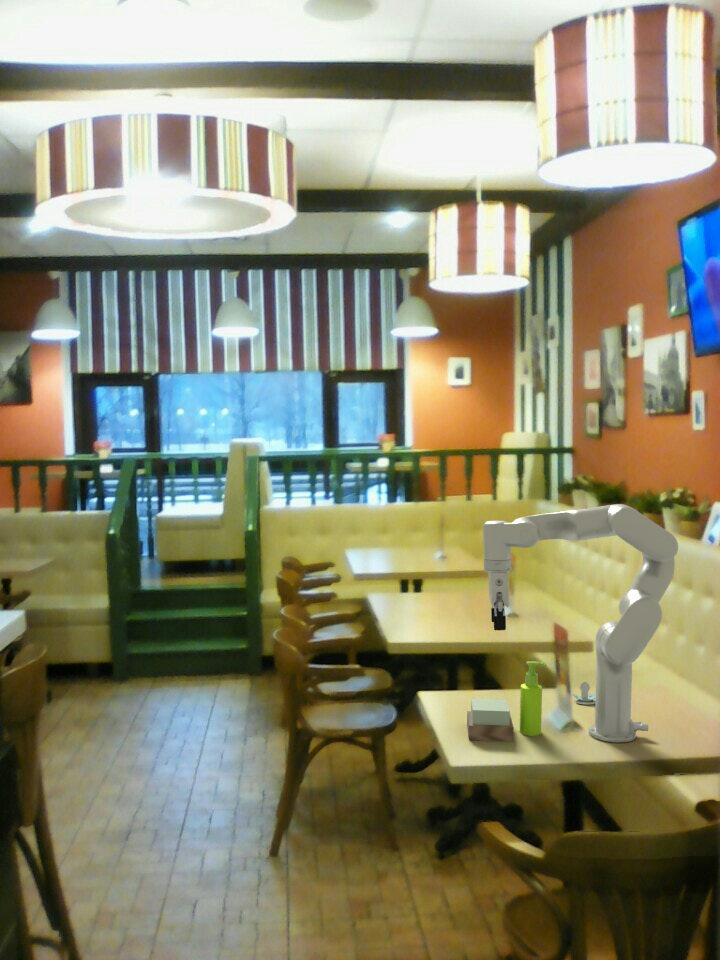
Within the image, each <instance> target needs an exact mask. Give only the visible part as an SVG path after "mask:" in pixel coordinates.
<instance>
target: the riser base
mask: <svg viewBox="0 0 720 960" xmlns="http://www.w3.org/2000/svg"><path fill="white" fill-rule="evenodd" d="M466 711H467V710H466ZM466 713H467V716H466V717H467V718H466V721H467V722H466V727H467V734H468V740H469V741H487V742H488V741H489V742H492V741H493V742H511V743H512V742H514V724H513V720H512V717H511V715H510V726H501V725H474V724H473V723H472V716H471V710H468V711H467V712H466Z"/></svg>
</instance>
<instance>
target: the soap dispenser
mask: <svg viewBox="0 0 720 960" xmlns="http://www.w3.org/2000/svg"><path fill="white" fill-rule="evenodd" d="M526 666H528V671H527V672H525V678H524V679H525V680H524V681H525V682H524V683H522V684H520V701H519V702H520V704H519V705H520V707H519V709H520V710H519V733H521V734H522V735H525V736H530V737H531V736H533V737H535V736H536V737H537V736H539V735H541V734H542V715H543V714H542V713H543V711H542V710H543V709H542V706H543V701H542V700H543V686H542V685H541V684H539V683H538V681H539V677H538V676H539V675H538V673H536V666H541V667H546V666H547V663H546V662H543V661H538V660H530V661H529V660H527V661H526Z"/></svg>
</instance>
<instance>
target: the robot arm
mask: <svg viewBox="0 0 720 960" xmlns="http://www.w3.org/2000/svg"><path fill="white" fill-rule="evenodd" d="M482 529H483V530H482V535H483V538H482V539H483V542H482V543H483V571H484V572H485V573H488V580H487V581H488V596H489V601H490V606H491V608H490V609H491V618H490V619H491V623H493V630H494V631H506V629H507V624H506V623H507V622H506V620H507V619H506V612H505V611H506V609H505V607H506V608H509V607H510V592H509V591H510V589H509V584H510V583H509V574H508V573H509V572H511V571H512V548H520V549H529V548H533V547H534V546H536V545H537V544H538V542H540V541H545V540H565V541H571V542H572V541H573V542H575V541H576V542H577V541H578V542H580V541H586V540H592V539H600V538H606V537H607V538H608V537H615V536H617V537H619V539H621V540H623V541H624V542H625V543H626V544H628V545H630V546H631V547H633V548H634V549H636V550H637V551H639V552H641V554H642V565H641V567H640V568H639V571H638V573H637V575H636V577H635V578H634V580H633V581H632V583H631V584H630V586H629V587H628V589H627V590H626V592H625V593H624V595H623V596H622V598H621V599H620V602H619V604H618V611H619V614H620V615H621V617H620V618H619V620H618V621H613V620H612V621H607V622H605V623H603V624H601V626H600V627H599V628H598V629H597V632H596V635H595V657H596V658H595V659H596V660H595V661H596V662H595V663H596V673H595V674H596V675H595V676H596V677H595V694H596V698H595V700H594V701H595V704H594V705H595V707H594V708H595V710H594V724H592V725H591V726H590V727H589V728H588V734H589V735H590V736H591V737H593V738H595V739H597V740H600V741H604V742H608V743H628V742H632V741H634V740H635V739H636V738H637V732H638V731H639V732H640V731H641V732H648V731H649V724H648V723H642V721H633V720H632V718H631V716H632V714H631V713H632V691H633V690H632V687H633V663H634V662H636V661H637V659H639V657H640V656H641V655H642V653H643V652H644V650H645V648H646V647H647V646H648V644H649V643H650V641H651V640H652V638H653V636H655V633H656V632H657V630H658V628H659V627H660V625H661V622H662V618H663V611H662V607H661V604H660V602H661V600H662V598H663V597H664V595H665V594H666V592H667V590H668V588H669V586H670V584H671V582H672V580H673V578H674V574H675V569H676V568H675V566H676V565H675V564H676V563H675V557H676V556H677V554H678V552H679V543H678V540H677V538H676V536H675V535H674V534H672V533H671V532H670V531H668V530H667V529H665V528H663V527H662V526H661V525H659V524H657V523H656V522H654V521H653V520H652V519H649V518H648V517H646V516H645V515H644V514H642V513H641V512H639V511H638V510H637V509H635V508H634V507H631V506H629V505H627V504H624V503H616V504H607V505H601V506H594V507H589V508H582V509H581V508H580V509H573V510H565V511H559V512H550V513H541V514H533V515H527V516H522V517H519V518H515V519H514V520H513V521H512V522H509V521H506V520H488V521H485V522H484V524H483V526H482Z"/></svg>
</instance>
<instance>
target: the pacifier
mask: <svg viewBox="0 0 720 960" xmlns="http://www.w3.org/2000/svg"><path fill="white" fill-rule="evenodd" d="M579 685H580V686H579V689H580V691H581V692H580V693H581V694H580V695H577V694H575V693H572V696H573V697H574V698H576V699H577V700H575V703H576V704H579V705H584V706H586V705H587V706H589V705H590V706H591V705H595V701H596V693H591V694H589V692H590V690H591V689H590V688H591V685H590V684H589V683H588V682H587V681H582V682H581V683H580V684H579Z"/></svg>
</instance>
